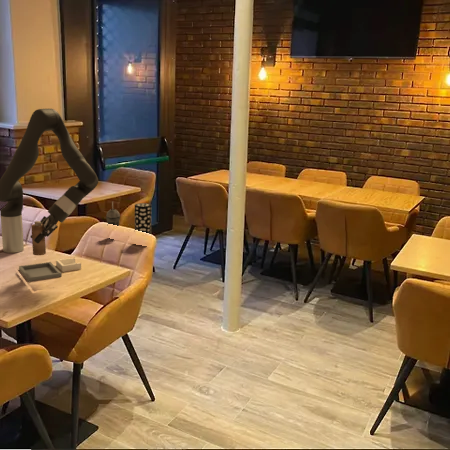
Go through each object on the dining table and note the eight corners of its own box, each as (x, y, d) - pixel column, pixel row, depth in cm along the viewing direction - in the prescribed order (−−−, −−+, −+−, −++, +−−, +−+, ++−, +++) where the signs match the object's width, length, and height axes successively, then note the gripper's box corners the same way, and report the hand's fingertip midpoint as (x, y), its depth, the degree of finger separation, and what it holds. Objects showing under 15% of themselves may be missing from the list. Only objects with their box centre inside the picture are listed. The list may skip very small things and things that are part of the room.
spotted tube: (142, 246, 259) (142, 207, 254) (131, 242, 264) (131, 204, 259) (154, 242, 266) (154, 205, 261) (143, 239, 270) (143, 202, 265)
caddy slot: (56, 267, 223) (56, 259, 222) (74, 264, 227) (74, 257, 226) (62, 273, 216) (62, 266, 215) (81, 271, 220) (81, 263, 219)
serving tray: (19, 271, 216) (18, 266, 215) (50, 267, 223) (50, 261, 222) (28, 284, 203) (28, 278, 202) (61, 278, 210) (61, 272, 210)
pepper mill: (31, 252, 211) (29, 221, 208) (44, 251, 214) (42, 219, 211) (34, 256, 207) (32, 223, 204) (47, 254, 210) (45, 222, 207)
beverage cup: (121, 236, 275) (121, 199, 270) (119, 240, 268) (118, 202, 263) (107, 235, 275) (107, 199, 270) (105, 239, 268) (104, 202, 263)
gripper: (50, 199, 215) (22, 230, 212) (60, 206, 204) (31, 239, 200) (63, 210, 220) (36, 241, 216) (74, 218, 208) (45, 250, 205)
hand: (34, 240), depth 208 cm, fingers closed on pepper mill, 5 cm apart
